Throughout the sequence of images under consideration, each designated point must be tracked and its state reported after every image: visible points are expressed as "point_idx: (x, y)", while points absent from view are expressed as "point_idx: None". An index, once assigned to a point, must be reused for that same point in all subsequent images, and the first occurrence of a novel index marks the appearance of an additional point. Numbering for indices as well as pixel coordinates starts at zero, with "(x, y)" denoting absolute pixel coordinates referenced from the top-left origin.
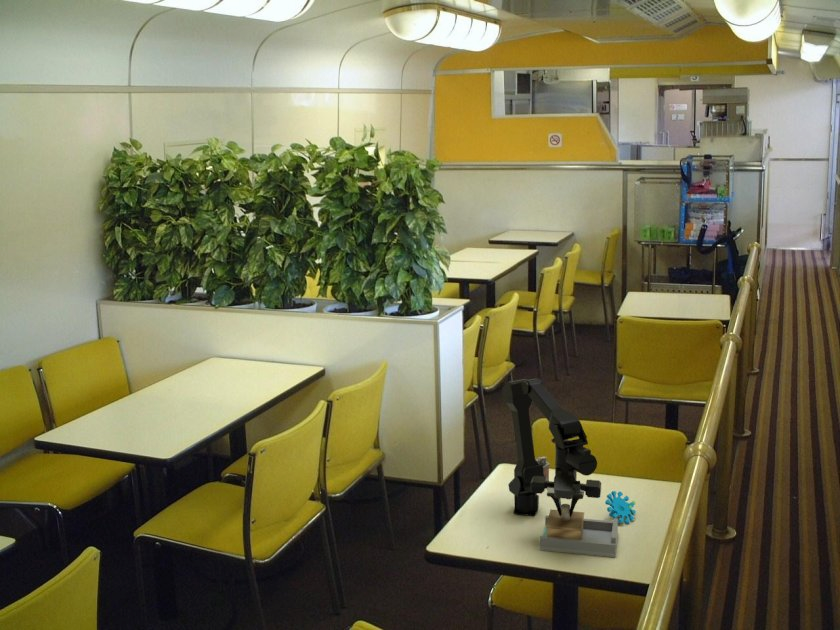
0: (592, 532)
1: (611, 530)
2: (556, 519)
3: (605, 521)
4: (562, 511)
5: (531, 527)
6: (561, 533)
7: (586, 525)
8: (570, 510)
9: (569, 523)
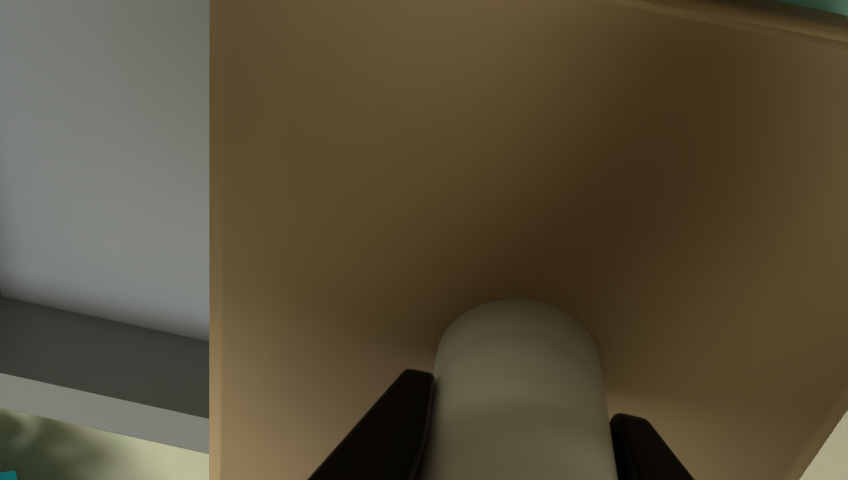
0: (201, 286)
1: (12, 306)
2: (693, 360)
3: (23, 397)
4: (604, 474)
5: (831, 448)
6: (646, 1)
7: None
8: (399, 468)
9: (461, 202)
